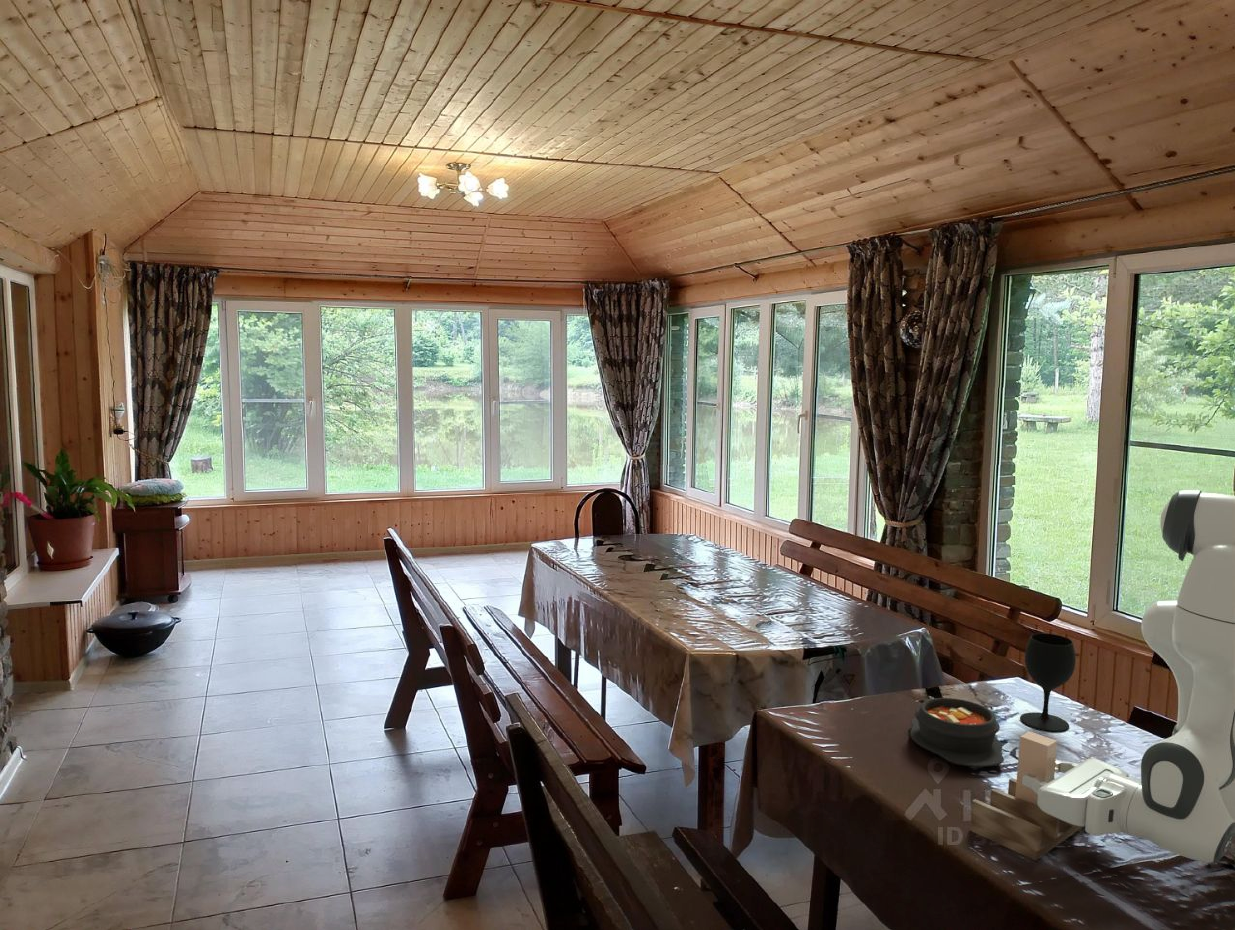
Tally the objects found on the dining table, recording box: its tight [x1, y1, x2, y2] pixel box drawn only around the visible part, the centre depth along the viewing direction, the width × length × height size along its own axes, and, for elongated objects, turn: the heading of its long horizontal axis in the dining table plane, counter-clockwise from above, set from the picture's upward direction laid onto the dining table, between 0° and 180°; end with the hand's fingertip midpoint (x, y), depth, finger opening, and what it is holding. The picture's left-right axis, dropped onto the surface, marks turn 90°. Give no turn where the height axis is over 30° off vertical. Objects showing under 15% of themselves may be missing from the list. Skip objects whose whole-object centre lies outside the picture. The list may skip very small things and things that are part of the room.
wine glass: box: [1019, 632, 1077, 733], centre depth 207 cm, size 10×10×20 cm
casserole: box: [909, 697, 1005, 768], centre depth 194 cm, size 25×19×8 cm
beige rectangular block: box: [1015, 731, 1058, 806], centre depth 162 cm, size 5×4×15 cm
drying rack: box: [969, 777, 1085, 861], centre depth 163 cm, size 12×21×6 cm, turn 129°
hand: (1037, 771), depth 162 cm, fingers open, 8 cm apart
